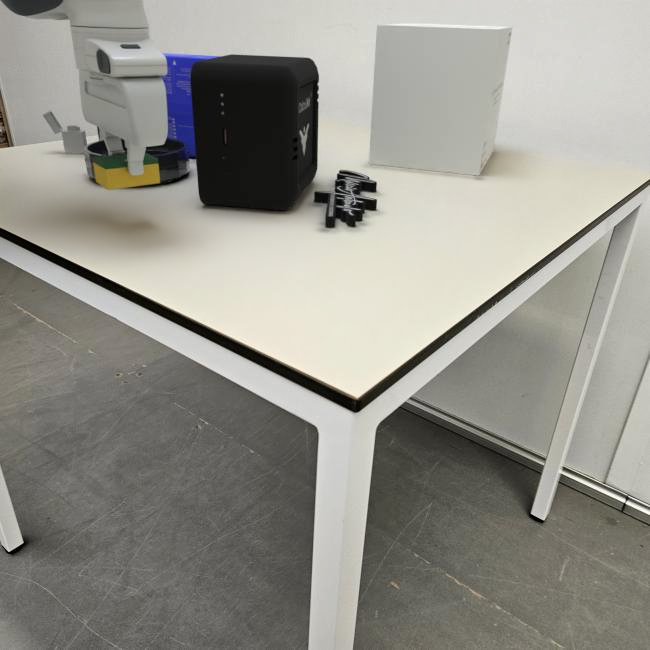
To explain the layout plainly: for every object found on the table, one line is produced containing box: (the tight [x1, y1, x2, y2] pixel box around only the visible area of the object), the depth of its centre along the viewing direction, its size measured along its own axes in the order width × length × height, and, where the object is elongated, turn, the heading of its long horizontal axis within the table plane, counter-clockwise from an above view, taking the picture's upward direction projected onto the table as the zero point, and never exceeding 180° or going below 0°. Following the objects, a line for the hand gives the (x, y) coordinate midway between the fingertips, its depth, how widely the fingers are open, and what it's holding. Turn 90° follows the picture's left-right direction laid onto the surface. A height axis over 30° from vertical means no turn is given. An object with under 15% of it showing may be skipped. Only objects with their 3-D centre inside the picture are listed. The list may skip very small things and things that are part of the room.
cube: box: [368, 22, 513, 176], centre depth 120 cm, size 25×21×24 cm
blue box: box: [160, 52, 222, 159], centre depth 119 cm, size 39×8×18 cm, turn 63°
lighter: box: [42, 110, 88, 155], centre depth 119 cm, size 7×2×8 cm, turn 96°
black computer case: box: [190, 53, 320, 211], centre depth 93 cm, size 20×15×20 cm
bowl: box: [83, 138, 191, 187], centre depth 105 cm, size 17×17×5 cm
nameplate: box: [313, 169, 378, 229], centre depth 95 cm, size 27×2×10 cm
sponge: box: [93, 153, 160, 191], centre depth 79 cm, size 7×5×3 cm, turn 127°
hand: (126, 169), depth 79 cm, fingers closed on sponge, 4 cm apart
